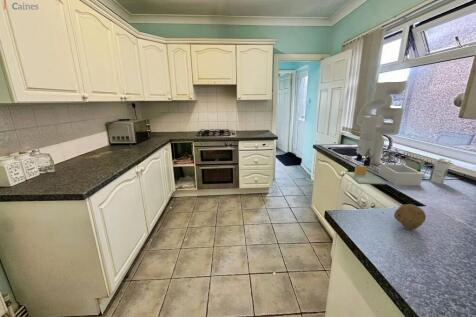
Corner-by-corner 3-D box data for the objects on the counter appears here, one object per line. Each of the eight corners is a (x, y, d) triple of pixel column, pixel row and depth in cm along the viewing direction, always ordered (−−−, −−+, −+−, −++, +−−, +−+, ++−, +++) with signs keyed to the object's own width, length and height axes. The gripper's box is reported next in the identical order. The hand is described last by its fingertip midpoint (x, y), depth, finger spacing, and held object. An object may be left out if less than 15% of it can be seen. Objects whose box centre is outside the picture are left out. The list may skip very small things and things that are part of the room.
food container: (426, 177, 133) (430, 162, 130) (416, 177, 133) (420, 162, 130) (411, 170, 145) (415, 156, 142) (402, 170, 145) (405, 156, 142)
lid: (346, 174, 138) (347, 164, 136) (369, 175, 136) (371, 165, 134) (358, 185, 121) (360, 174, 119) (385, 186, 120) (387, 175, 118)
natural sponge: (390, 228, 82) (396, 205, 79) (393, 218, 88) (398, 197, 85) (420, 238, 76) (428, 214, 73) (421, 227, 82) (428, 204, 80)
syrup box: (431, 180, 128) (437, 157, 124) (444, 183, 123) (451, 159, 119) (428, 182, 125) (434, 159, 121) (441, 185, 120) (448, 161, 116)
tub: (378, 175, 135) (380, 164, 133) (401, 176, 134) (403, 164, 132) (393, 186, 120) (396, 173, 117) (419, 186, 119) (423, 173, 116)
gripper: (354, 133, 136) (350, 158, 141) (367, 139, 119) (362, 168, 125) (366, 133, 135) (362, 159, 140) (381, 139, 119) (376, 168, 124)
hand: (362, 163), depth 132 cm, fingers open, 9 cm apart
